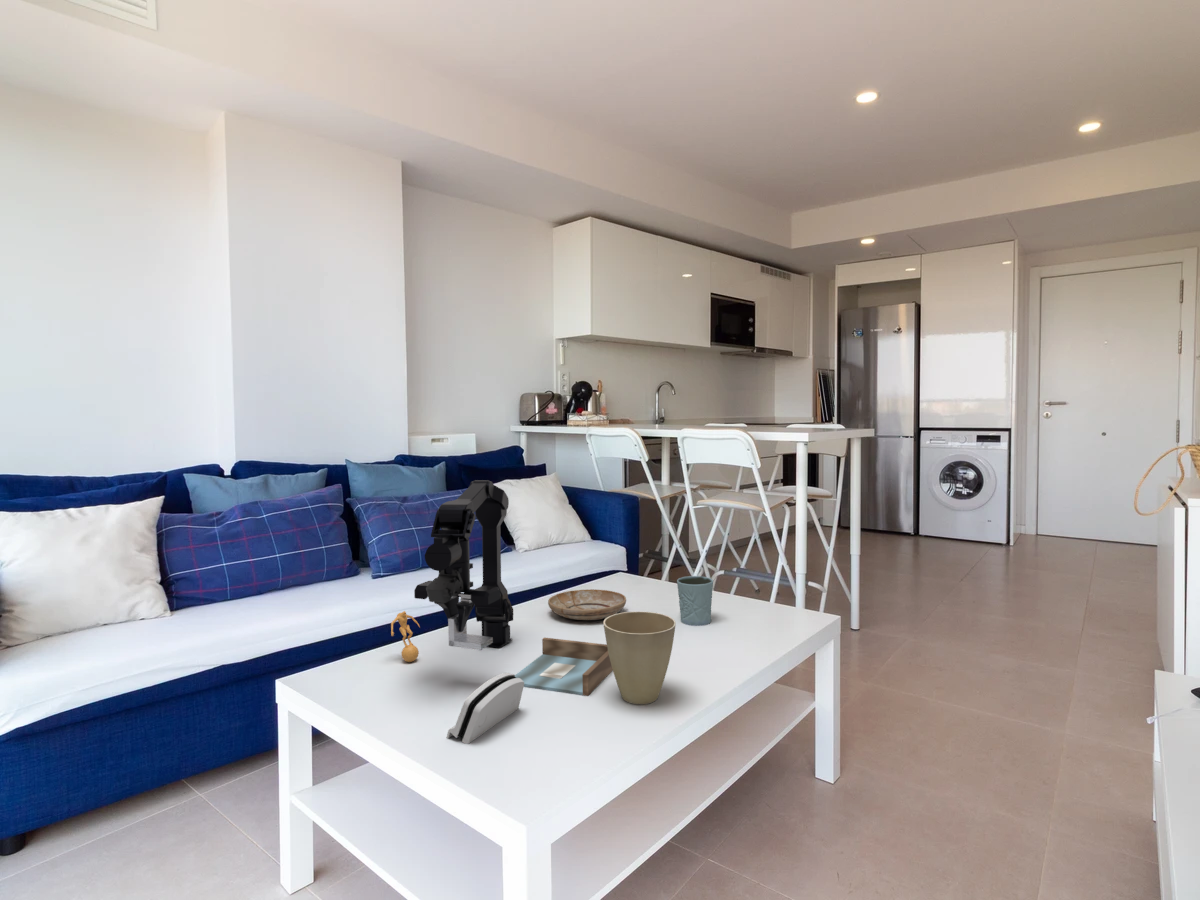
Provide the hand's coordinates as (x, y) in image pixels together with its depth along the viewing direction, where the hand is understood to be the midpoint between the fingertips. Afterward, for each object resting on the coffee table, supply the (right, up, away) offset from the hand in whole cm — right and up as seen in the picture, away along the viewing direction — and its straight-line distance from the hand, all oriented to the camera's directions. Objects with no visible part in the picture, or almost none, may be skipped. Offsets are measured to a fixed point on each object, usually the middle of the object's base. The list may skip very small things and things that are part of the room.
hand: (457, 631), depth 146 cm
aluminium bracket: (+3, -3, -1) cm, 4 cm away
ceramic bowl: (+28, -10, +52) cm, 60 cm away
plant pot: (+40, -12, -8) cm, 42 cm away
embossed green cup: (+59, -9, +44) cm, 74 cm away
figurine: (-15, -11, +15) cm, 24 cm away
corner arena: (+22, -11, +5) cm, 26 cm away
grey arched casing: (+10, -13, -19) cm, 25 cm away
